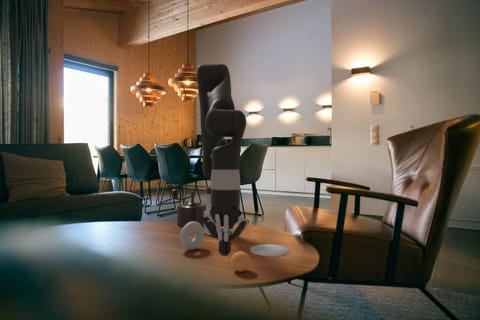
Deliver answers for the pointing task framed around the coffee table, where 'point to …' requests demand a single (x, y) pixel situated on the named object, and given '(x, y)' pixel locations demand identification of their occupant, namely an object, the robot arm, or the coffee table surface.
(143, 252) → the coffee table surface
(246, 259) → the ball
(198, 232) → the donut
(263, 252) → the disc
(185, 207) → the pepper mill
